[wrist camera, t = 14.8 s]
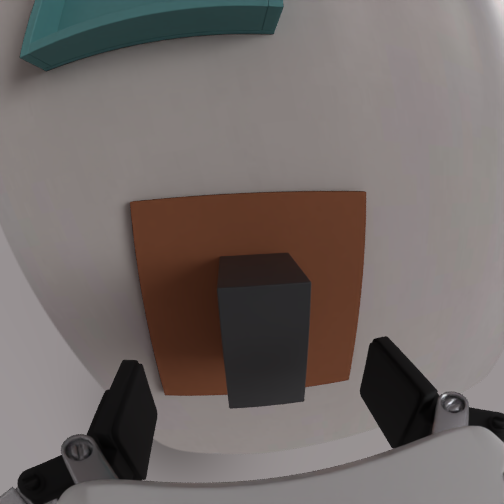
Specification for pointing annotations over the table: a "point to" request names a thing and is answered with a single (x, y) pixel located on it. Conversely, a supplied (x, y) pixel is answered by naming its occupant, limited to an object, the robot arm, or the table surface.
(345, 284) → the mat
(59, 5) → the bin
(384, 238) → the table surface
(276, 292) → the charcoal grey block
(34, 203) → the table surface
